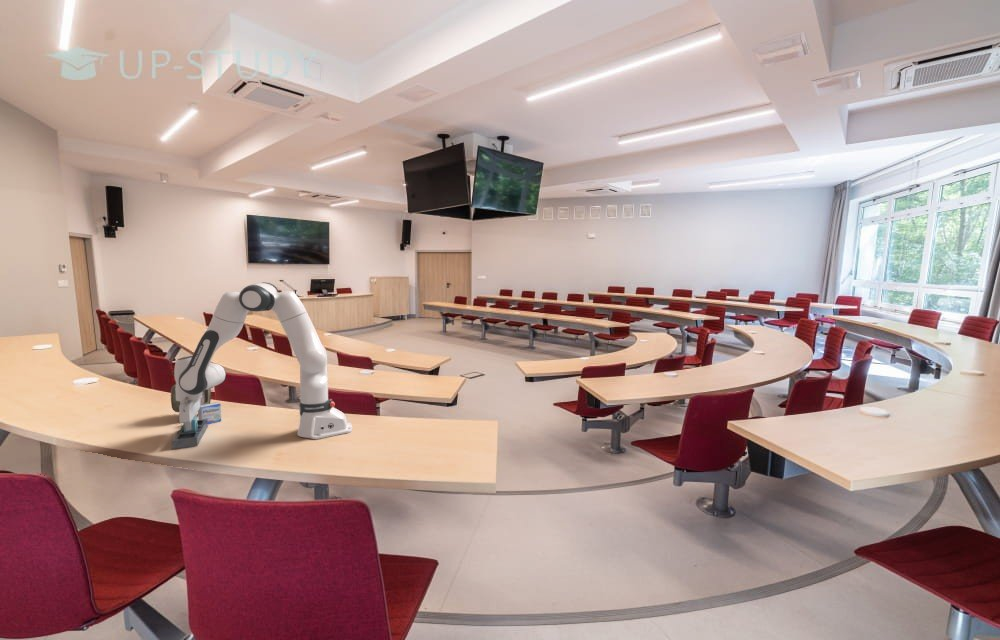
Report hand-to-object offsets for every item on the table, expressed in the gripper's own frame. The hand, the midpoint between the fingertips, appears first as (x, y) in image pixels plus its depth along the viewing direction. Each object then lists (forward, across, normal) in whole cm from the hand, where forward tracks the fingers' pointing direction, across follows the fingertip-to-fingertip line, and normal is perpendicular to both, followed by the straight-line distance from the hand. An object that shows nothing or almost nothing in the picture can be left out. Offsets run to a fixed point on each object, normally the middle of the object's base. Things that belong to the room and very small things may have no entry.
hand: (190, 426), depth 174 cm
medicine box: (+5, +18, -4) cm, 19 cm away
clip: (+5, 0, 0) cm, 5 cm away
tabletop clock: (+5, +30, +5) cm, 31 cm away
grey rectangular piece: (+5, 0, 0) cm, 5 cm away
